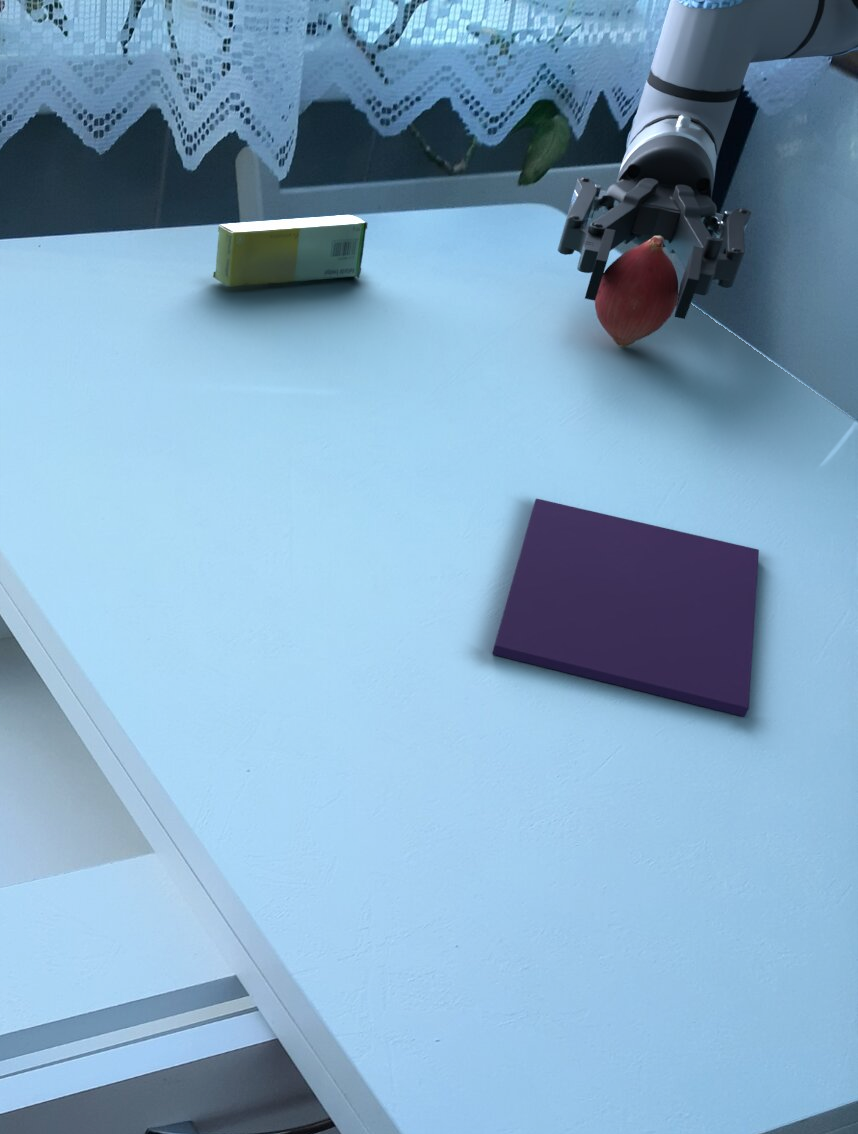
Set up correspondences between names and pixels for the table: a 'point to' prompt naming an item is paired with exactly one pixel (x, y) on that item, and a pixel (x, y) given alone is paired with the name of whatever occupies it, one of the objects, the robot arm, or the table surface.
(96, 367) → the table surface
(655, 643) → the mat
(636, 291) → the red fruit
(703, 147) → the robot arm
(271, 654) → the table surface
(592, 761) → the table surface
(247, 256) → the medication box
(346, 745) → the table surface
